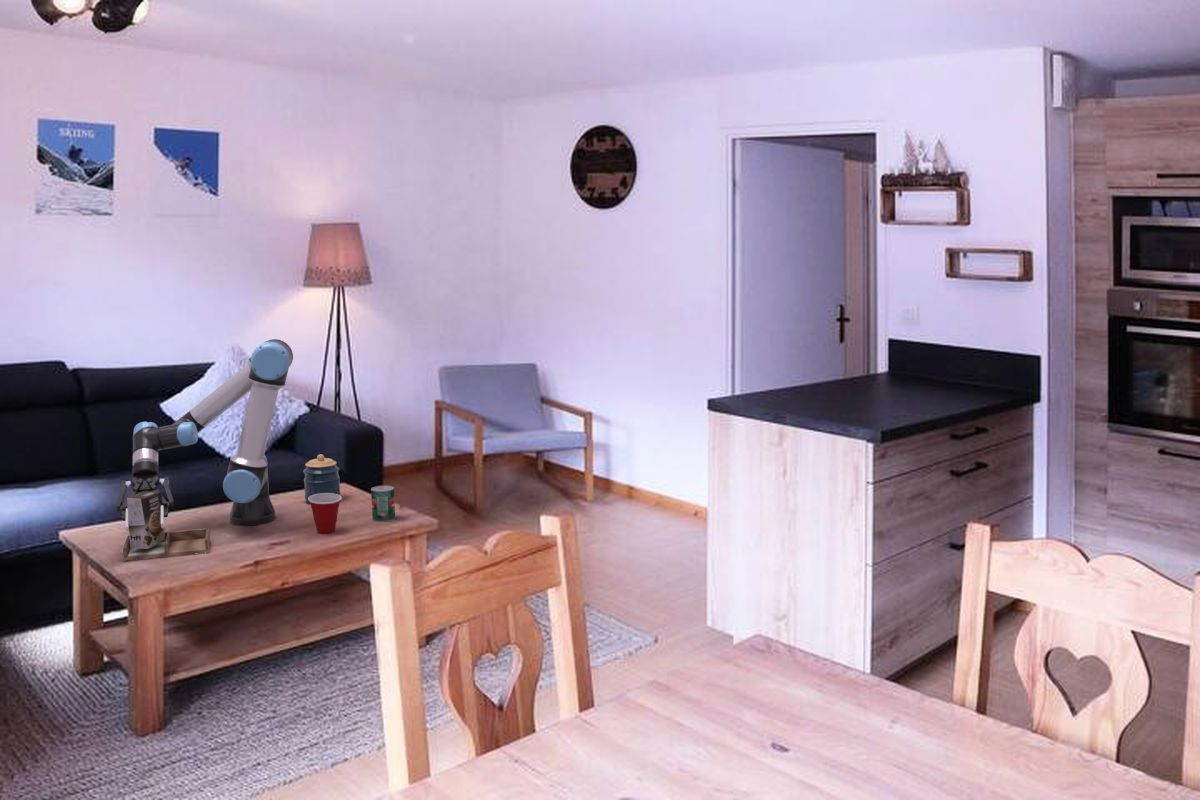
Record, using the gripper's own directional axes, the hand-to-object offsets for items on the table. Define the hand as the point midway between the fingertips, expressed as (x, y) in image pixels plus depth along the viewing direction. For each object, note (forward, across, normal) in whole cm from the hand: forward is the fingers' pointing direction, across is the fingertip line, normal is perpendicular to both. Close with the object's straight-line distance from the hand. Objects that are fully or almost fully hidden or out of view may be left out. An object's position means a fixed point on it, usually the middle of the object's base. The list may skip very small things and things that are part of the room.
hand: (145, 527), depth 312 cm
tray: (+4, -6, -9) cm, 11 cm away
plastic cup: (+1, -54, -12) cm, 56 cm away
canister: (-29, -56, -42) cm, 76 cm away
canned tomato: (-5, -74, -18) cm, 77 cm away
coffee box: (+2, 0, -7) cm, 7 cm away
